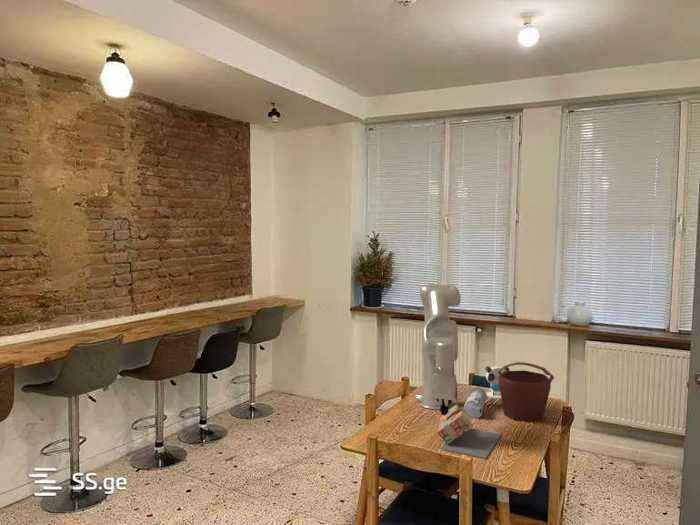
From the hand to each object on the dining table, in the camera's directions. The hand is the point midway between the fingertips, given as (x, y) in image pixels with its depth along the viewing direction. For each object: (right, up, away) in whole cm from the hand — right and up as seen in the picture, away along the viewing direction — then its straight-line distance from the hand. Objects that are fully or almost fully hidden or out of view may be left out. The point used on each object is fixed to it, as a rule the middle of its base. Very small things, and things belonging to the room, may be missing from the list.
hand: (444, 414), depth 217 cm
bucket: (+41, -9, +25) cm, 49 cm away
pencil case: (+21, -8, +31) cm, 38 cm away
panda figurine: (+38, -7, +56) cm, 68 cm away
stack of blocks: (0, -7, +1) cm, 7 cm away
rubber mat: (+10, -10, -5) cm, 15 cm away
